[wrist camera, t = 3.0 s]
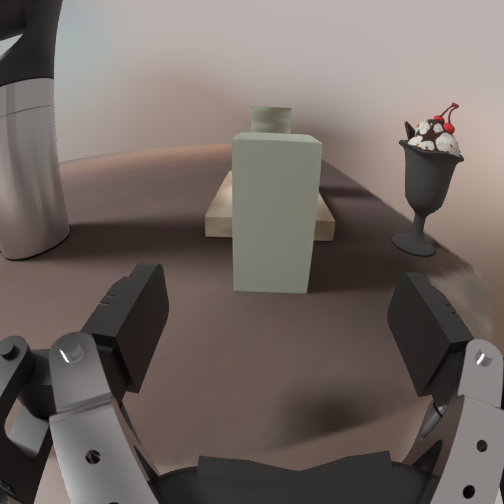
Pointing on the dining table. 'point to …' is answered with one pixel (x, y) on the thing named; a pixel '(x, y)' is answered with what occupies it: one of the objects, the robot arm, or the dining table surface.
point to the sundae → (427, 176)
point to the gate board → (221, 207)
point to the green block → (274, 210)
